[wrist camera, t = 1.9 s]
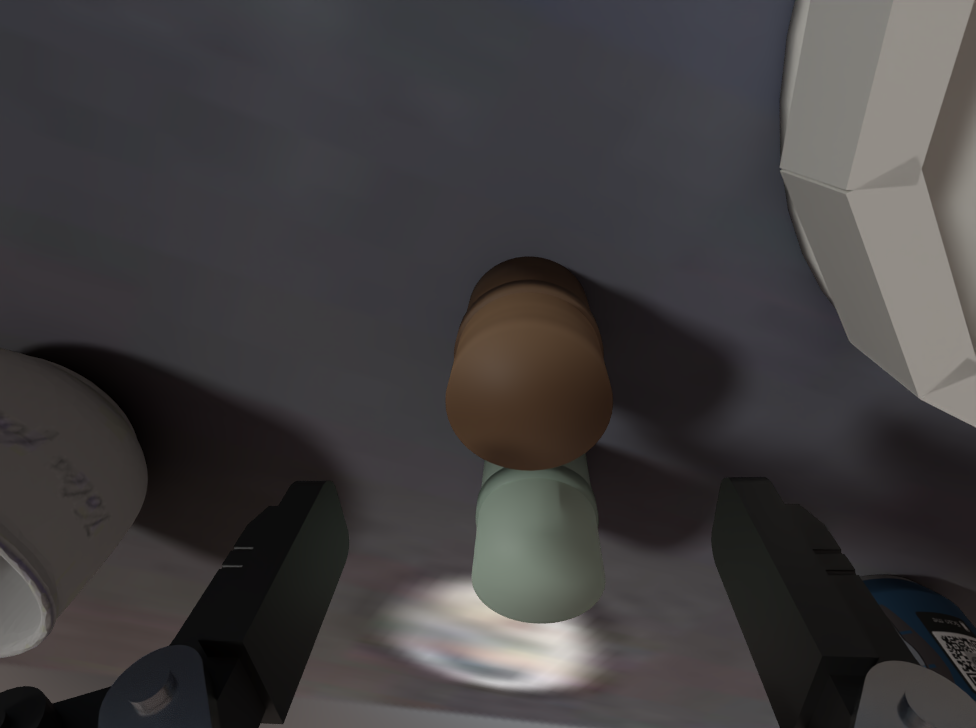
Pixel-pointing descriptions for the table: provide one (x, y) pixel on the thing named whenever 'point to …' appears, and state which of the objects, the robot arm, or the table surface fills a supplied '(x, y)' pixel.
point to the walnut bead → (529, 369)
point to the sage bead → (538, 543)
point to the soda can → (929, 628)
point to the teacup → (58, 491)
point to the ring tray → (889, 181)
